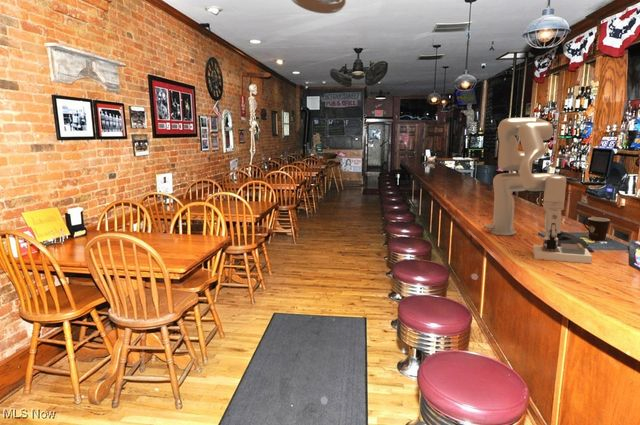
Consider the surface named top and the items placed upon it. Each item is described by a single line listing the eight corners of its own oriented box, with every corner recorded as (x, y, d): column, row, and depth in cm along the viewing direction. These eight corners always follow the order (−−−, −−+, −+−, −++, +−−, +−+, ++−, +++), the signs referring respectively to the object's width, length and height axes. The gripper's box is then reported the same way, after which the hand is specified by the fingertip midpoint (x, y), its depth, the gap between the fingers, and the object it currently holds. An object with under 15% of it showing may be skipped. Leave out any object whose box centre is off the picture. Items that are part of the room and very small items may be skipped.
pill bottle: (540, 250, 170) (541, 230, 168) (551, 250, 170) (553, 230, 168) (547, 254, 164) (549, 233, 163) (559, 253, 165) (561, 233, 163)
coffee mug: (611, 242, 184) (613, 221, 182) (590, 241, 186) (592, 221, 184) (599, 235, 195) (601, 216, 193) (580, 235, 197) (582, 216, 195)
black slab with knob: (556, 251, 175) (556, 241, 174) (547, 239, 195) (547, 229, 194) (596, 254, 169) (597, 243, 168) (583, 240, 189) (583, 231, 189)
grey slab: (563, 252, 162) (563, 246, 161) (560, 247, 168) (561, 241, 168) (584, 254, 159) (585, 247, 158) (581, 249, 165) (581, 242, 165)
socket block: (534, 258, 165) (535, 252, 164) (532, 251, 175) (533, 245, 174) (591, 263, 157) (592, 256, 156) (586, 255, 167) (586, 248, 166)
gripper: (567, 209, 154) (563, 253, 158) (561, 201, 169) (557, 242, 173) (545, 208, 157) (542, 252, 161) (541, 201, 172) (538, 241, 176)
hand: (550, 246), depth 167 cm, fingers closed on pill bottle, 5 cm apart
